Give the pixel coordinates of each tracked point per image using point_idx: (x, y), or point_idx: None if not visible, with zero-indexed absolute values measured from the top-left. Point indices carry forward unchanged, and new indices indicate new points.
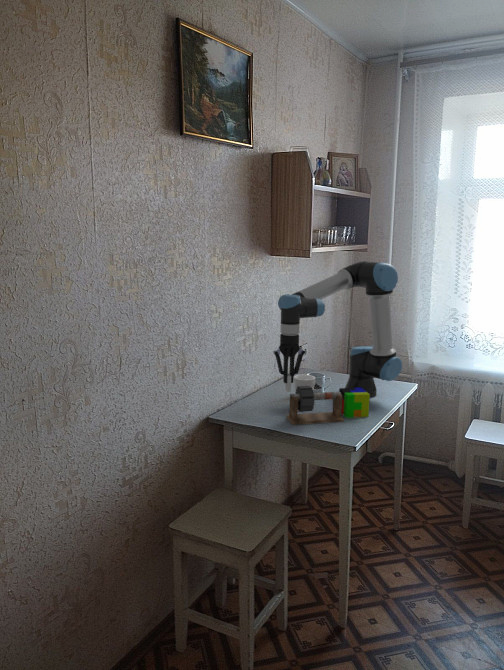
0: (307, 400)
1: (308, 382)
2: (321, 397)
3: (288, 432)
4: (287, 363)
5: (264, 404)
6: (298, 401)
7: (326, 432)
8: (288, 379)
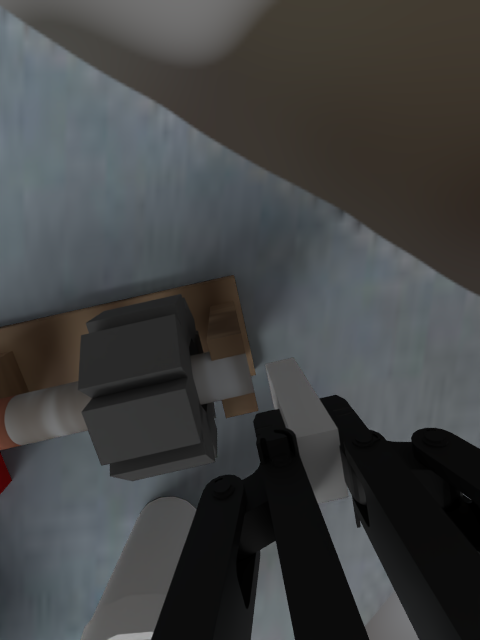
0: (141, 308)
1: (120, 616)
2: (40, 390)
3: (261, 170)
4: (457, 602)
5: (335, 514)
6: None
7: (72, 177)
8: (314, 409)
